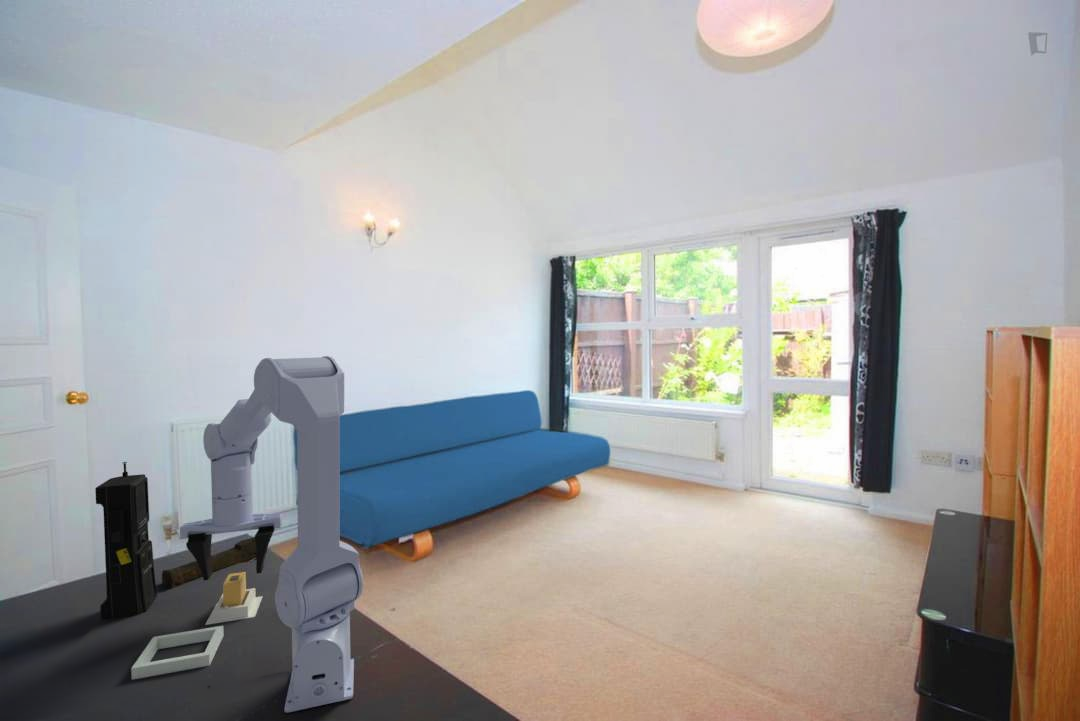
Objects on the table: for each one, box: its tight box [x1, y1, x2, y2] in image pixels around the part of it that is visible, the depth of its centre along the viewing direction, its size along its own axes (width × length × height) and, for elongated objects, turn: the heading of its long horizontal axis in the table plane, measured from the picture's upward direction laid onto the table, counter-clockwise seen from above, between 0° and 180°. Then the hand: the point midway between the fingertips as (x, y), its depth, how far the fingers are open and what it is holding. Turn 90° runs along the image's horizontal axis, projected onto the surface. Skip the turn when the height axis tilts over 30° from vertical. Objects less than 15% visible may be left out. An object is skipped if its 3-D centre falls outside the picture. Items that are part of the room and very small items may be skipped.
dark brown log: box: [161, 536, 268, 589], centre depth 101 cm, size 19×4×5 cm, turn 146°
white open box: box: [205, 587, 264, 626], centre depth 85 cm, size 7×7×3 cm
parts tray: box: [130, 625, 225, 681], centre depth 73 cm, size 8×9×2 cm
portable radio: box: [94, 461, 158, 620], centre depth 85 cm, size 8×6×25 cm
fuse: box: [222, 571, 247, 607], centre depth 85 cm, size 4×2×6 cm, turn 19°
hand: (234, 574), depth 85 cm, fingers open, 7 cm apart
